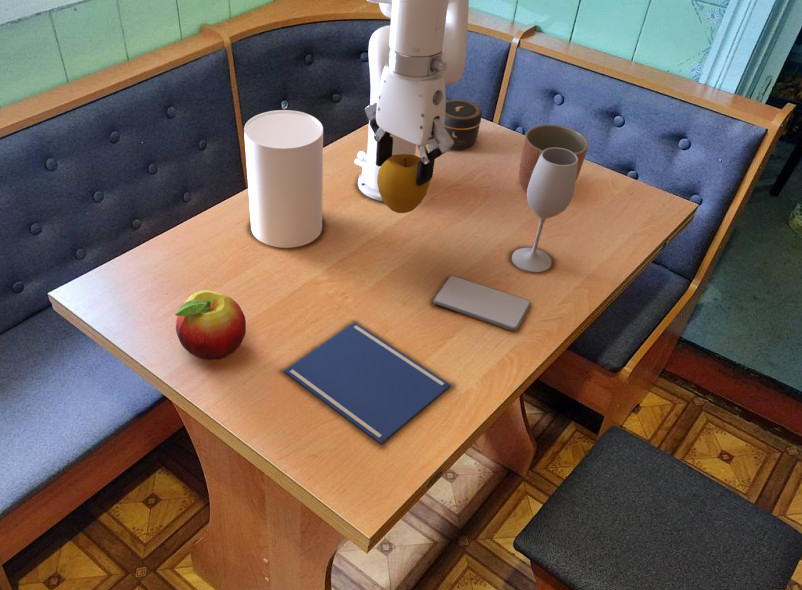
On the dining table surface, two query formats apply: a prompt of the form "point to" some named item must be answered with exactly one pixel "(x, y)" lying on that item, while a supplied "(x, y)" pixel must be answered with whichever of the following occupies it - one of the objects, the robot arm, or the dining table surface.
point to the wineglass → (547, 200)
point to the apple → (401, 183)
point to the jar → (462, 123)
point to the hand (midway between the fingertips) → (403, 172)
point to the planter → (549, 138)
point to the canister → (285, 177)
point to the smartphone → (482, 302)
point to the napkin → (367, 381)
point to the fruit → (210, 325)
